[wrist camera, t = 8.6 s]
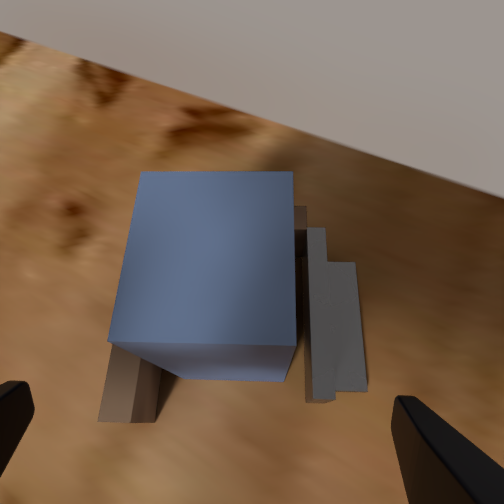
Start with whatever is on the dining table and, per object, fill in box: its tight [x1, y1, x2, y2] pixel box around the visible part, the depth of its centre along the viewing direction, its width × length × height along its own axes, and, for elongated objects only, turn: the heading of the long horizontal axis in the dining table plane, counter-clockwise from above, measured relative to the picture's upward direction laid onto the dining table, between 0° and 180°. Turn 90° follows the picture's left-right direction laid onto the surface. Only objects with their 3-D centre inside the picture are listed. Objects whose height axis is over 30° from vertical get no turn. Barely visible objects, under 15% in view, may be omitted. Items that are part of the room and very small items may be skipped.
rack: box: [98, 206, 307, 423], centre depth 16 cm, size 9×8×3 cm
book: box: [107, 171, 296, 382], centre depth 13 cm, size 5×4×8 cm
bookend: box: [302, 227, 368, 403], centre depth 16 cm, size 7×3×3 cm, turn 178°
